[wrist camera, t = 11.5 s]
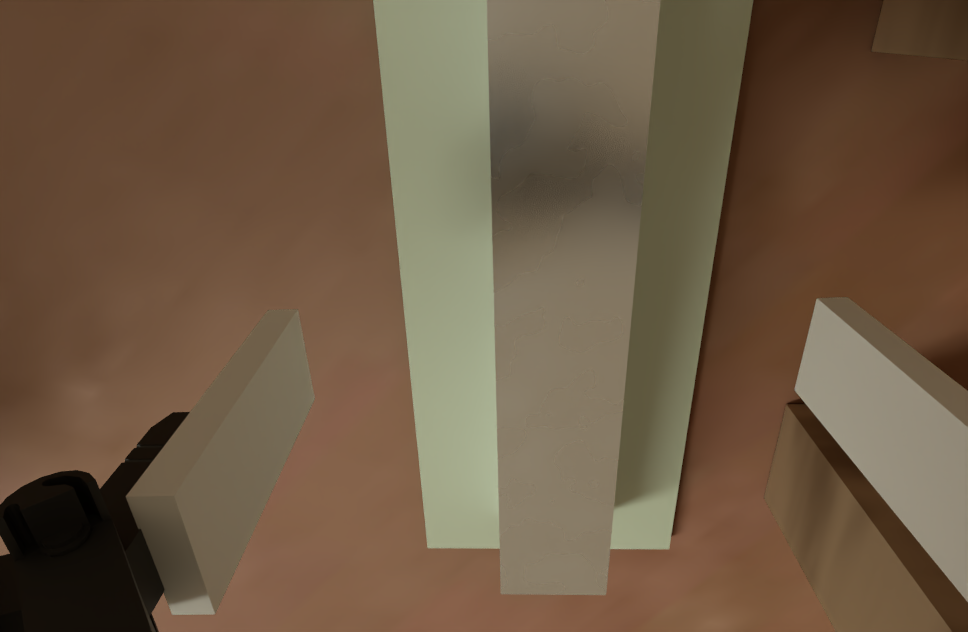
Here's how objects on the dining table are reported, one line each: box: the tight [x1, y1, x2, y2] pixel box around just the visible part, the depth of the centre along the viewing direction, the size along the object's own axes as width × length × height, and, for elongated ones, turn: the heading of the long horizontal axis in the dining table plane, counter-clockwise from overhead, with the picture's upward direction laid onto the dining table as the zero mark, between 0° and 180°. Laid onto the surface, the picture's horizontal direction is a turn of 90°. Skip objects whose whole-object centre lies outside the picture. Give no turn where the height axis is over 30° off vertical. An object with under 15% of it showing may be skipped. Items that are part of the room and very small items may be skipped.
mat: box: [373, 0, 753, 549], centre depth 21 cm, size 11×28×1 cm, turn 2°
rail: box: [487, 0, 661, 595], centre depth 19 cm, size 24×4×4 cm, turn 2°
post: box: [764, 404, 968, 632], centre depth 19 cm, size 7×5×12 cm
